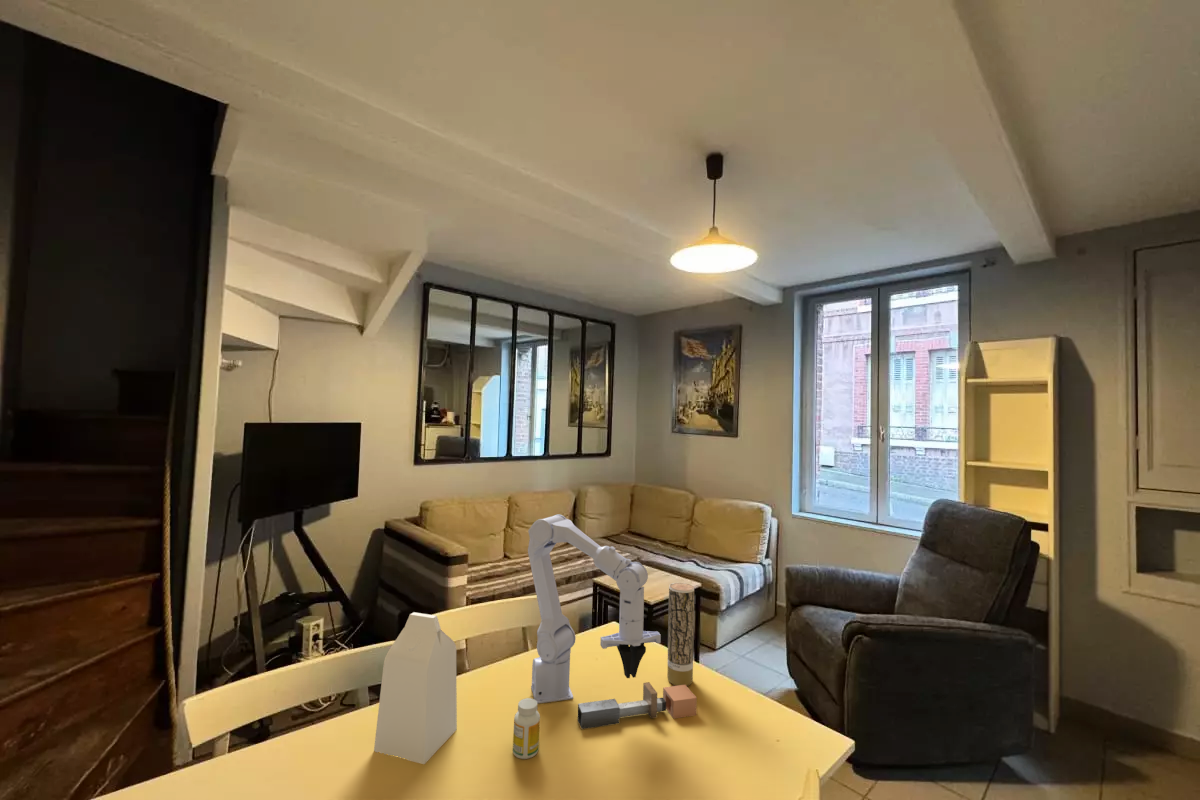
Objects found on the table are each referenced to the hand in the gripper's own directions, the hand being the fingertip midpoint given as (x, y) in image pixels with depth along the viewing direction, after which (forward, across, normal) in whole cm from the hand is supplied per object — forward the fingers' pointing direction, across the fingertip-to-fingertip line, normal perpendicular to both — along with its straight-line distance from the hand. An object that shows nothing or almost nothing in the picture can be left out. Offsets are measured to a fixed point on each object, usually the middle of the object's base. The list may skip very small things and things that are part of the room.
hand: (629, 675), depth 112 cm
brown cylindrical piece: (+10, +19, +12) cm, 24 cm away
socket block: (+9, +13, 0) cm, 16 cm away
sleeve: (+9, -8, 0) cm, 12 cm away
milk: (+10, -47, +3) cm, 48 cm away
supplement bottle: (+10, -25, -6) cm, 27 cm away
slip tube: (+9, 0, 0) cm, 9 cm away
